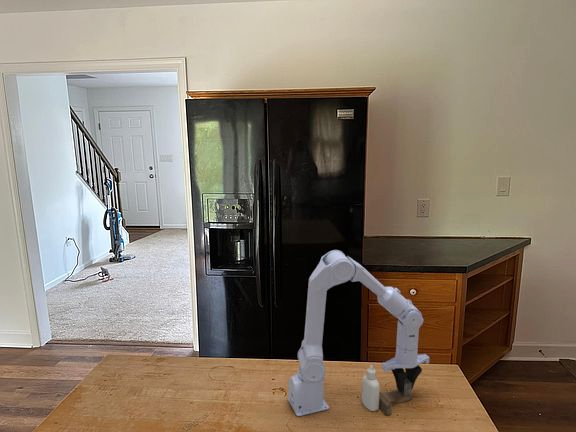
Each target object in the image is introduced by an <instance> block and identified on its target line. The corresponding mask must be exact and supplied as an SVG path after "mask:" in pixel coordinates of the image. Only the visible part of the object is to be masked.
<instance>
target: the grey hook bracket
mask: <svg viewBox="0 0 576 432" xmlns="http://www.w3.org/2000/svg"><path fill="white" fill-rule="evenodd" d="M411 389H412V382H411V381H410V380H409V379H407V378H406V379H405V383H404V391H403V392H402V393H401V392H400V391H399V390H398V389H395V390H390V391H386V392H381V391H380V392H379V409H380V410H381V411H382V412H383V413H384V415H385V416H391V415H392V413H393V412H392V410H393V405H394V404H400V403H404V402H408V401H411V400H413V395H412V390H413V389H412V390H411Z"/></svg>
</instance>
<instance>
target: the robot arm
mask: <svg viewBox="0 0 576 432" xmlns="http://www.w3.org/2000/svg"><path fill="white" fill-rule="evenodd" d="M348 281H350V282H352V283H353V282H354V283H355V282H360V283H361V284H363V286H365V287H366V288H367V289H369V290H370V291H371V292H372V293H374V294H375V295H376V296H377V303H378V304H379V305H381V307H383V308H384V309H386V311H388V312H389V313H390V314H391V315H392V316H393V317H395V318H397V328H396V329H397V330H396V349H395V356H394V357H392V358H390V359H389V360H387V361H385V362H384V361H383V362H382V363H381V364H382V365H381V370H382V371H383V372H385V373H389V372H390V371H391V373H392V374H393V377H394V380H395V385H396V390H399V391H400V392H401V393H402V392H403V391H404V383H405V379H406V378H407V379H409V380H410V381H411V382H412V389H411V391H413V388H414V385H415V383H416V381H417V378H418V377H419V376H420V375H421V373H422V371H423V368H422V367H421V366H420V365H421V364H427V365H428V364H430V356H429V355H427V354H426V353H422V354H418V348H419V347H418V346H419V345H418V344H419V333H420V327H422V325H423V323H424V318H423V315H422V312H421V311H420V310H419V309H418V308H417V307H416V306H415V305H414V304H413V301H412V300H411V299H408V298H407V299H406V298H405V297H404V296H403V295H402V294H401V290H399V288H397V287H393V286H385V285H384V284H382V283H381V282H380V281H379V280H378V279H377V278H375V276H373V275H372V274H371V273H370V272H369V271H368V270H367V269H366V268H365V267H363V266H362V265H361V264H360V263H359V262H357V261H356V260H354V259H353V258H352V257H350V256H349V255H347V256H346V254H345V253H344V252H343V251H341V250H338V249H333V250H330V251H328V252H326V253H325V254H324V255H322V256H321V258H320V261H319V262H318V264H317V265H316V268H315V269H314V270H313V271H312V273H311V275H310V276H309V278H308V285H307V286H308V288H307V300H306V312H305V324H304V335H303V336H304V337H303V340H302V341H301V346H300V348H299V350H298V351H297V360H298V362H299V365H300V366H299V368H298V371H297V373H296V374H294V375H293V376H291V377H289V379H288V397H287V400H288V402H289V404H290V406H291V408H292V410H293V412H294V413H295V416H297V417H301V416H306V415H311V414H314V413H315V414H316V413H318V412H322V411H326V410H329V409H330V406H329V405H328V403H327V402H326V401H325V399H324V392H325V391H324V386H325V385H324V384H325V379H324V378H325V374H326V367H325V364H324V352H323V336H324V324H325V315H326V314H325V313H326V304H327V303H326V302H327V293H328V292H327V291H328V290H330V289H331V288H333V287H334V286H335V287H336V286H338V285H341V284H344V283H347V282H348Z"/></svg>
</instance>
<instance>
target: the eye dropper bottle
mask: <svg viewBox="0 0 576 432" xmlns="http://www.w3.org/2000/svg"><path fill="white" fill-rule="evenodd" d="M376 372H377V371H376V369H375V368H374V365H373V364H370V366H369V368H367V369H366V374H365V375H364V376H362V379H361V380H362V381H361V382H362V383H361V385H362V386H361V402H362V404H363V406H364V407H365V408H366V409H367V410H369V411H371V412H375V411H379V409H380V408H379V392H381V390H380V389H381V387H380V382H379V380H378V379H377V378H376V375H377V373H376Z"/></svg>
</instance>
